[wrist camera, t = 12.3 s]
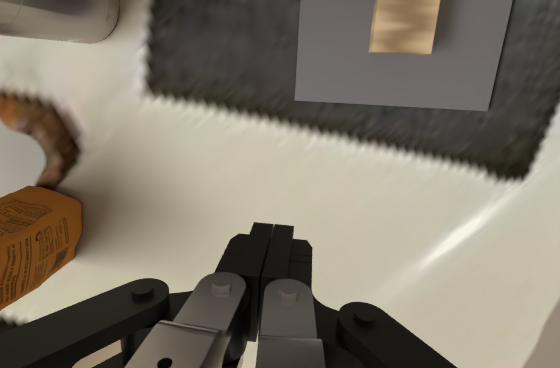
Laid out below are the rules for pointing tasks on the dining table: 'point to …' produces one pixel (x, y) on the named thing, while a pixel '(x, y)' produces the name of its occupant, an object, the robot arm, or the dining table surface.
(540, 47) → the dining table surface
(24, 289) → the coffee package
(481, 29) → the charcoal placemat
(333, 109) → the dining table surface
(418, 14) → the oak card block
